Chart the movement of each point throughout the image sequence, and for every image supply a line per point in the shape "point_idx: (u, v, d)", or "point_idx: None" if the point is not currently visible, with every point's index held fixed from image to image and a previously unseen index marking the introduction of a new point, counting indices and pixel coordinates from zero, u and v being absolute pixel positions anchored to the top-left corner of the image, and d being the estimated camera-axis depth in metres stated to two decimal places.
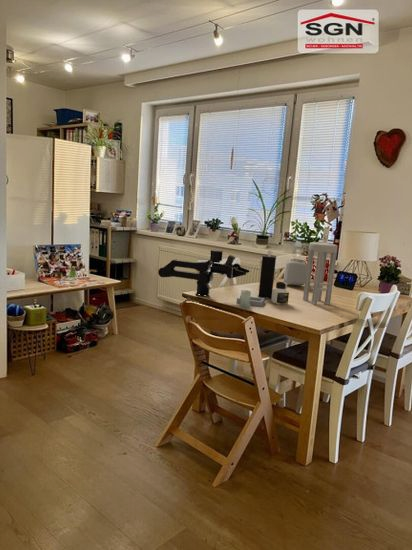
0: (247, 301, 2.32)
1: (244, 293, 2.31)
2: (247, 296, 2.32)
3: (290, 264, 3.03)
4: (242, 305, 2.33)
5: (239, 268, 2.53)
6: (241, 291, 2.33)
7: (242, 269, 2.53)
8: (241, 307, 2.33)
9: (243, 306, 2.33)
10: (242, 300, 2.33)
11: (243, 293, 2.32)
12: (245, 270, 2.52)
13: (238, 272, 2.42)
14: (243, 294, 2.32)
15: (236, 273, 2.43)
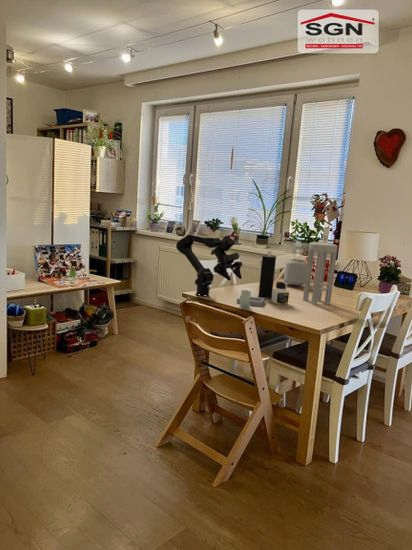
0: (247, 301, 2.32)
1: (244, 293, 2.31)
2: (247, 296, 2.32)
3: (290, 264, 3.03)
4: (242, 305, 2.33)
5: (237, 269, 2.44)
6: (241, 291, 2.33)
7: (238, 272, 2.43)
8: (241, 307, 2.33)
9: (243, 306, 2.33)
10: (242, 300, 2.33)
11: (243, 293, 2.32)
12: (239, 275, 2.42)
13: (225, 273, 2.35)
14: (243, 294, 2.32)
15: (223, 272, 2.36)
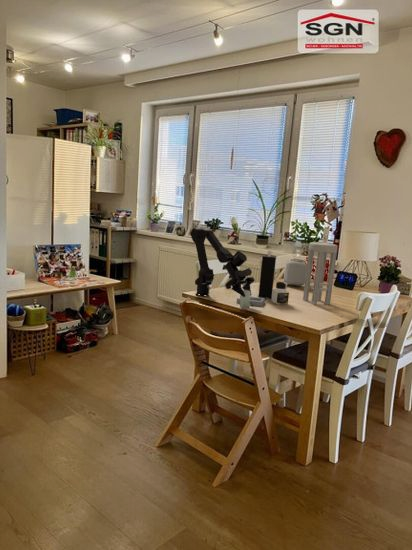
0: (247, 301, 2.32)
1: (244, 293, 2.31)
2: (247, 296, 2.32)
3: (290, 264, 3.03)
4: (242, 305, 2.33)
5: (246, 285, 2.37)
6: None
7: (247, 288, 2.36)
8: (241, 307, 2.33)
9: (243, 306, 2.33)
10: (242, 300, 2.33)
11: None
12: None
13: (239, 290, 2.31)
14: None
15: (237, 289, 2.32)
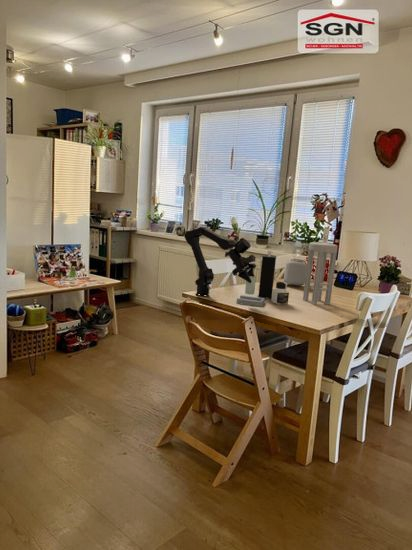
0: (253, 287, 2.37)
1: None
2: (253, 282, 2.36)
3: (290, 264, 3.03)
4: (248, 291, 2.37)
5: (250, 271, 2.41)
6: None
7: (251, 274, 2.40)
8: (247, 293, 2.37)
9: (249, 292, 2.37)
10: (248, 286, 2.36)
11: None
12: None
13: (245, 276, 2.35)
14: None
15: (243, 275, 2.35)
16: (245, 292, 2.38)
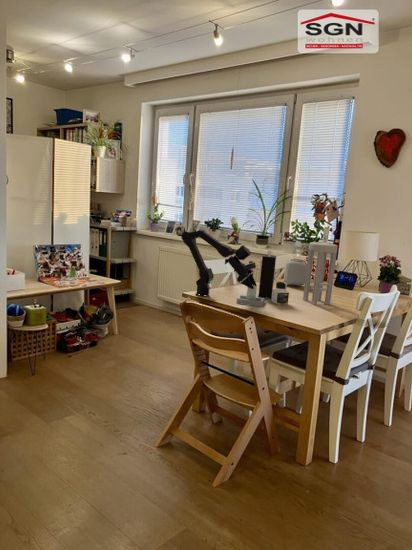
0: (255, 295, 2.45)
1: None
2: (255, 290, 2.44)
3: (290, 264, 3.03)
4: None
5: (250, 276, 2.50)
6: None
7: (252, 279, 2.50)
8: None
9: None
10: (250, 295, 2.44)
11: None
12: (253, 282, 2.50)
13: (248, 282, 2.40)
14: (251, 289, 2.43)
15: (246, 282, 2.40)
16: None
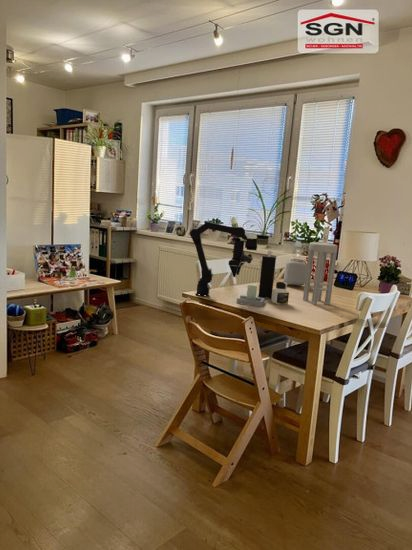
0: (255, 295, 2.45)
1: (253, 288, 2.43)
2: (255, 290, 2.44)
3: (290, 264, 3.03)
4: (250, 299, 2.44)
5: (240, 264, 2.57)
6: (249, 286, 2.44)
7: (239, 268, 2.57)
8: None
9: None
10: (250, 295, 2.44)
11: (251, 288, 2.43)
12: (238, 271, 2.57)
13: (234, 270, 2.47)
14: (251, 289, 2.43)
15: (233, 268, 2.47)
16: None
